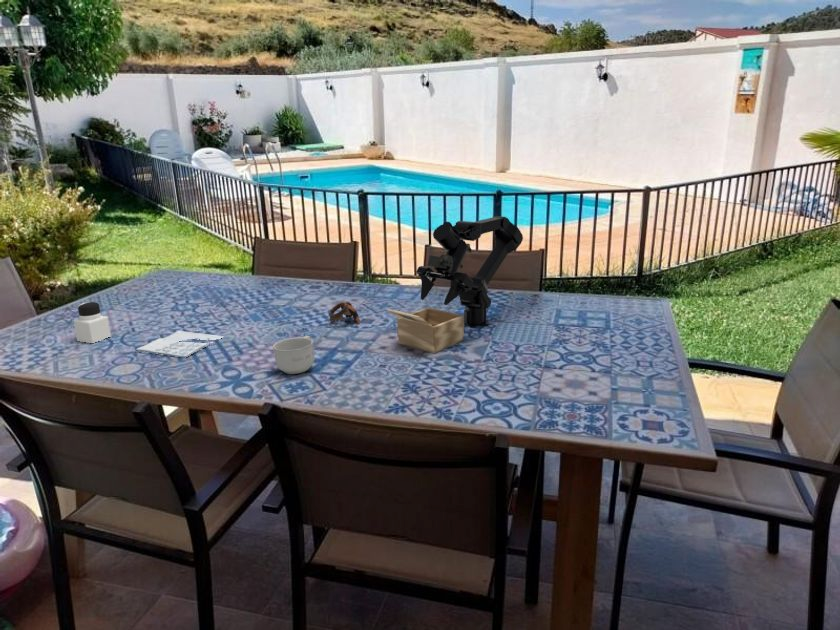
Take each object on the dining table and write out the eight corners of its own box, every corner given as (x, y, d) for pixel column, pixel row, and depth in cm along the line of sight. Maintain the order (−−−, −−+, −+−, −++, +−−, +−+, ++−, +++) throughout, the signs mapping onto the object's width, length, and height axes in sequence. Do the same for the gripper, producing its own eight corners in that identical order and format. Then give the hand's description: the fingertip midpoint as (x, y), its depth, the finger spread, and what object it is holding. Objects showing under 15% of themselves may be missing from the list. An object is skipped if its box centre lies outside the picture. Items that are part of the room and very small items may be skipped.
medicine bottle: (111, 337, 204) (105, 301, 200) (92, 344, 197) (85, 307, 194) (96, 334, 206) (90, 299, 203) (76, 341, 200) (70, 305, 197)
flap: (386, 308, 185) (386, 309, 185) (418, 316, 177) (418, 317, 177) (400, 317, 190) (399, 318, 190) (432, 324, 182) (431, 326, 182)
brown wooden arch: (360, 328, 209) (347, 309, 205) (336, 339, 212) (323, 321, 208) (364, 309, 219) (351, 291, 216) (341, 320, 222) (328, 302, 218)
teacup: (296, 380, 167) (294, 352, 164) (266, 372, 172) (264, 345, 170) (330, 363, 178) (328, 336, 176) (301, 356, 183) (299, 330, 181)
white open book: (134, 354, 190) (133, 347, 189) (180, 333, 208) (179, 327, 207) (186, 361, 184) (185, 354, 183) (229, 339, 202) (228, 332, 201)
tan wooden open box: (428, 331, 203) (427, 307, 201) (465, 340, 194) (465, 315, 192) (397, 343, 193) (396, 318, 191) (434, 353, 184) (434, 327, 181)
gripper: (417, 240, 194) (396, 284, 191) (465, 247, 182) (444, 294, 179) (435, 258, 202) (415, 301, 199) (482, 266, 191) (462, 312, 187)
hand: (433, 301), depth 191 cm, fingers open, 9 cm apart
